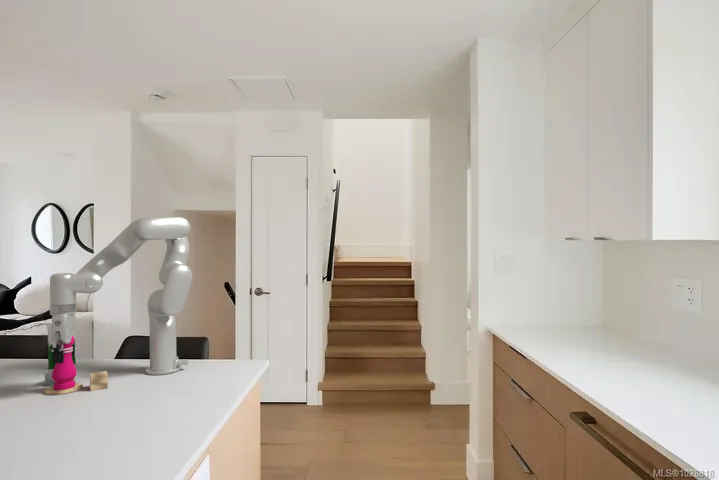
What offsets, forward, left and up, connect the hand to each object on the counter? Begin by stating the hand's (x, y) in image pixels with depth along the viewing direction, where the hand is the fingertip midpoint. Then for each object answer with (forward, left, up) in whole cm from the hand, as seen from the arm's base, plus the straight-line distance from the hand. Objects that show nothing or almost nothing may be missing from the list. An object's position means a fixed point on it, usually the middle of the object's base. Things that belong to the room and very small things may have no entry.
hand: (63, 359), depth 156 cm
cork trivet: (0, 0, -10) cm, 10 cm away
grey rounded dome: (+5, -10, -10) cm, 15 cm away
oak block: (-11, +1, -10) cm, 15 cm away
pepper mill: (0, 0, -10) cm, 10 cm away
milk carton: (+13, -36, -10) cm, 40 cm away
